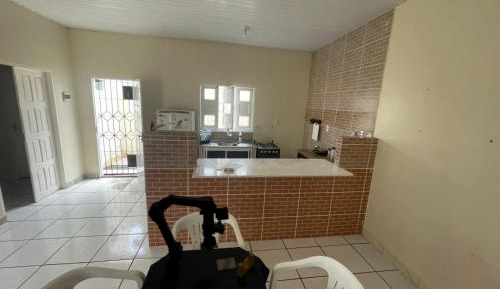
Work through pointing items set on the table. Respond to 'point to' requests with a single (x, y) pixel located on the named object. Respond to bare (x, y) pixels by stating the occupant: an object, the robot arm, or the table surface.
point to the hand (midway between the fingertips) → (208, 248)
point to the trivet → (226, 264)
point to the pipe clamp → (245, 265)
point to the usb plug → (204, 249)
